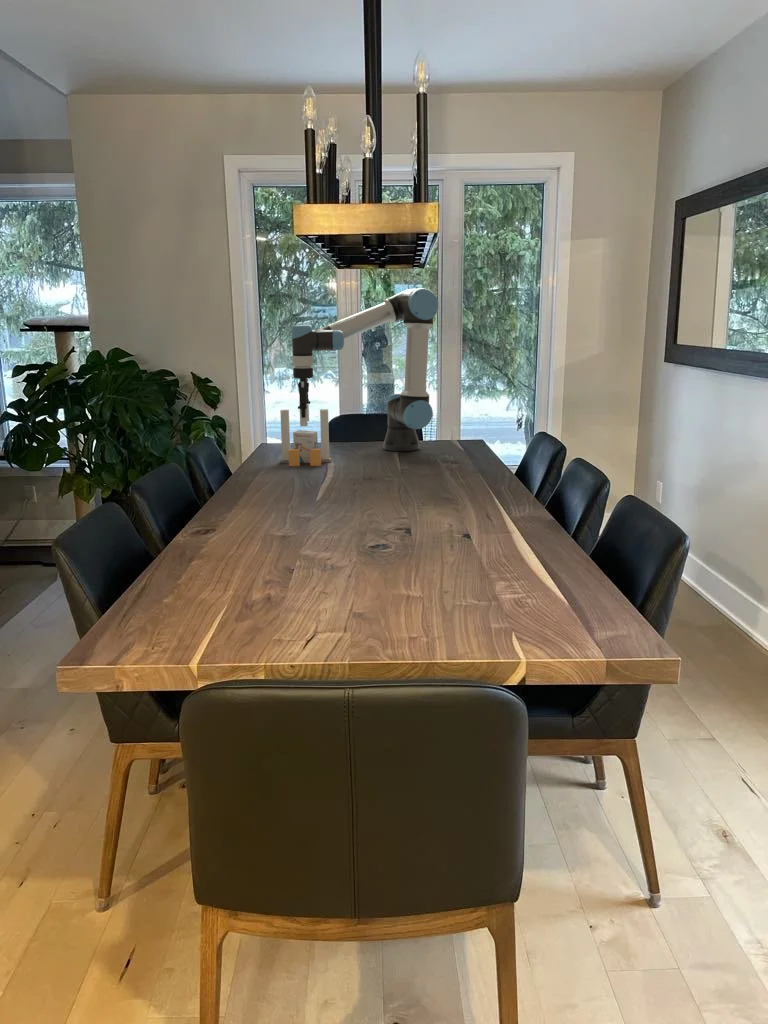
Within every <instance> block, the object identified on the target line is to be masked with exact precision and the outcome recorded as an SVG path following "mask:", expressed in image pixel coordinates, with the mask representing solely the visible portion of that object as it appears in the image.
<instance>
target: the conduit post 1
mask: <svg viewBox="0 0 768 1024" xmlns="http://www.w3.org/2000/svg"><path fill="white" fill-rule="evenodd" d="M290 428H291V427H290V410H289V409H280V433H281V439H280V440H281V458H280V461H279V462H280V464H289V453H288V450H289V449H291V435H290V434H291V432H290V431H291V429H290Z"/></svg>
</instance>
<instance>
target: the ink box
mask: <svg viewBox="0 0 768 1024" xmlns="http://www.w3.org/2000/svg"><path fill="white" fill-rule="evenodd" d="M292 437H293V438H292V439H293V440H292V441H293V442H292V443H293V449H300V463H303V464H304V463H306V464H308V463H309V464H310V449H319V446H318V445H319V444H318V442H319V439H318V438H319V437H318V431H316V430H306V429H304V430H302V429H298V430H295V431H293V432H292Z"/></svg>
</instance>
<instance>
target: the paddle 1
mask: <svg viewBox="0 0 768 1024" xmlns="http://www.w3.org/2000/svg"><path fill="white" fill-rule="evenodd" d="M288 453H289V463H288V466H289V467H300V466H301V462H300V449H294V448H290V449H289V450H288Z"/></svg>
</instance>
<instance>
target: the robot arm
mask: <svg viewBox="0 0 768 1024" xmlns="http://www.w3.org/2000/svg"><path fill="white" fill-rule="evenodd" d="M438 310H439V300H438V297H437V296H436V294H435V293H434V292H433V291H432V290H430V289H429V288H424V287H416V288H407V289H405V290H402V291H401V292H398V293H396V294H395V295H392V296H391V297H388V298H385V299H384V300H383V303H380V304H378V305H375V306H373V307H369V308H367V309H365V310H362V311H360V312H357V313H355V314H352V315H350V316H348V317H345V318H342V319H340V320H337V321H334V322H332V323H330V324H327V325H325V326H323V327H320V328H315V329H313V327H312V325H311V324H305V325H304V324H296V325H293V326H292V327H291V343H292V349H291V350H292V358H291V359H290V361H292V366H293V369H292V377H293V378H294V379H299V382H298V383H297V387H298V388H297V389H298V395H299V404H298V406H297V409H298V410H299V426H300V427H308V422H310V404H311V401H310V400H309V392H310V391H309V390H310V389H309V387H310V382H309V380H308V379H312V378H314V368H313V367H314V354H313V352H318V351H323V352H324V351H334V352H336V351H341V350H343V348H344V345H345V340H346V339H349V338H351V337H355V336H356V335H360V334H361V333H364V332H366V331H368V330H372V329H374V328H376V327H379V326H382V325H384V324H386V323H389V322H391V323H395V322H399V321H401V320H402V321H403V325H404V327H406V347H405V371H404V389H403V390H402V392H401V393H393V394H389V395H388V396H387V402H386V404H387V431H386V434H385V438H384V441H383V449H384V450H385V451H392V452H410V451H417V450H419V449H420V441H419V437H418V434H417V431H416V430H421V429H424V428H426V427H427V426H428V425H429V424H430V423H431V422H432V419H433V416H434V410H433V408H432V406H431V404H430V394H429V392H428V391H427V378H428V377H427V373H428V372H427V371H428V353H429V335H430V329H431V328H432V327H433V326H434V317H435V316H436V314H437V313H438Z"/></svg>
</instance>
